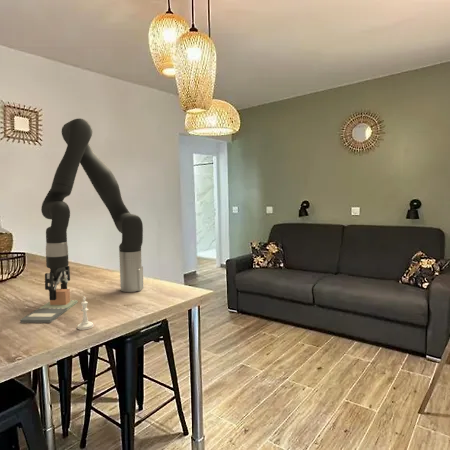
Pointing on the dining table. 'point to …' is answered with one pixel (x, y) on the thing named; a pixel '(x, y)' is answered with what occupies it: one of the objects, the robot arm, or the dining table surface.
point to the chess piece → (84, 317)
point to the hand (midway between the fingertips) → (58, 296)
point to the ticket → (43, 315)
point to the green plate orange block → (61, 300)
